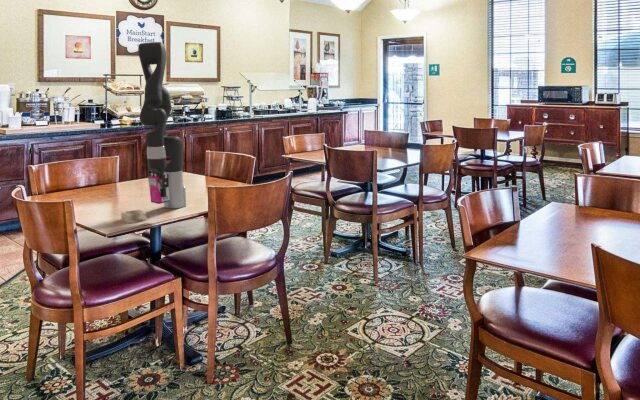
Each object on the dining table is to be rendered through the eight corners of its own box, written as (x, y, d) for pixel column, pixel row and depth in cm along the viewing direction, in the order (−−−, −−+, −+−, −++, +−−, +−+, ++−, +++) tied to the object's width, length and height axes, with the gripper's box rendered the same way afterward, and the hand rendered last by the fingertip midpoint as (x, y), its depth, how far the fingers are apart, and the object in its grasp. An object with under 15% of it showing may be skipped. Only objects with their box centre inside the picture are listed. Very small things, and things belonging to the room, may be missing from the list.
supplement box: (161, 199, 235) (159, 173, 232) (170, 201, 231) (168, 175, 229) (150, 202, 231) (148, 175, 228) (158, 204, 227) (156, 177, 224)
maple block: (139, 217, 238) (139, 209, 237) (146, 220, 232) (145, 212, 231) (121, 220, 233) (120, 212, 233) (127, 223, 227) (127, 215, 226)
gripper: (173, 157, 224) (176, 196, 228) (156, 154, 234) (159, 191, 238) (156, 159, 219) (160, 199, 223) (139, 156, 229) (143, 194, 233)
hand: (159, 195), depth 230 cm, fingers closed on supplement box, 6 cm apart
